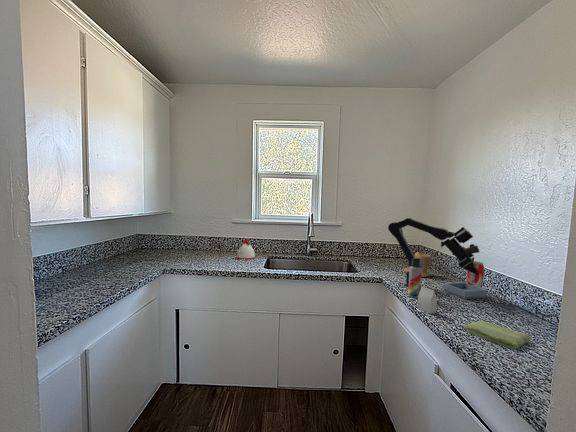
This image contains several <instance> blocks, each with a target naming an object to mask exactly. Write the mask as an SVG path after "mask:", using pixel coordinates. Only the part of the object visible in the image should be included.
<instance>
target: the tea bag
mask: <svg viewBox="0 0 576 432" xmlns="http://www.w3.org/2000/svg"><path fill="white" fill-rule="evenodd" d="M437 300H438V299H437V296H436V291H435V290H433V289H431V288H427V287H425V286H421V290H420V292H419V295H418V298H417V309H418V310H421V311H423V312H424V313H428V314H429V315H431V314H436V313H437Z"/></svg>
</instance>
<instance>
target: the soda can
mask: <svg viewBox="0 0 576 432" xmlns="http://www.w3.org/2000/svg"><path fill="white" fill-rule="evenodd" d="M473 265H474V267H475V268H476V270H477V271H478V273H479V275H476V274H474V273H472V272H470V271H468V270H466V271H467V273H466V283H467V284H469V285H470V286H473V287H480V288H481V287H482V286H483V284H484V276H485V266H484V263H483V262H480V261H475V260H474V261H473Z"/></svg>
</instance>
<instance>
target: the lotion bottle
mask: <svg viewBox="0 0 576 432" xmlns="http://www.w3.org/2000/svg"><path fill="white" fill-rule="evenodd" d="M421 274H422V268H421V267H420V259H419V258H412V266H410V271H409V287H408V289H407V290H408V291H407V292H408V293H407V296H409V297H410V298H413V299H418V295H419V292H420V290H421V287H422V276H421Z"/></svg>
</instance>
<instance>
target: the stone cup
mask: <svg viewBox="0 0 576 432" xmlns="http://www.w3.org/2000/svg"><path fill="white" fill-rule="evenodd" d="M414 256H415V257H416V258H419V259H421V262H422V264H423V265H424V266H423V267H424V270H423V272H422V274H421V278H423V277H424V278H425V277H429V276H430V275H431V274H430V273H429V272H428V268H429V267H430V264H431V262H432V255H430V254H428V253H427V254H426V253H424V252H419V251H417V252H415V254H414ZM409 270H410V267H409V266H408V267H406V268H405V267H404V268H403V271H405V272H406V273H407V272H408V271H409Z"/></svg>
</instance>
